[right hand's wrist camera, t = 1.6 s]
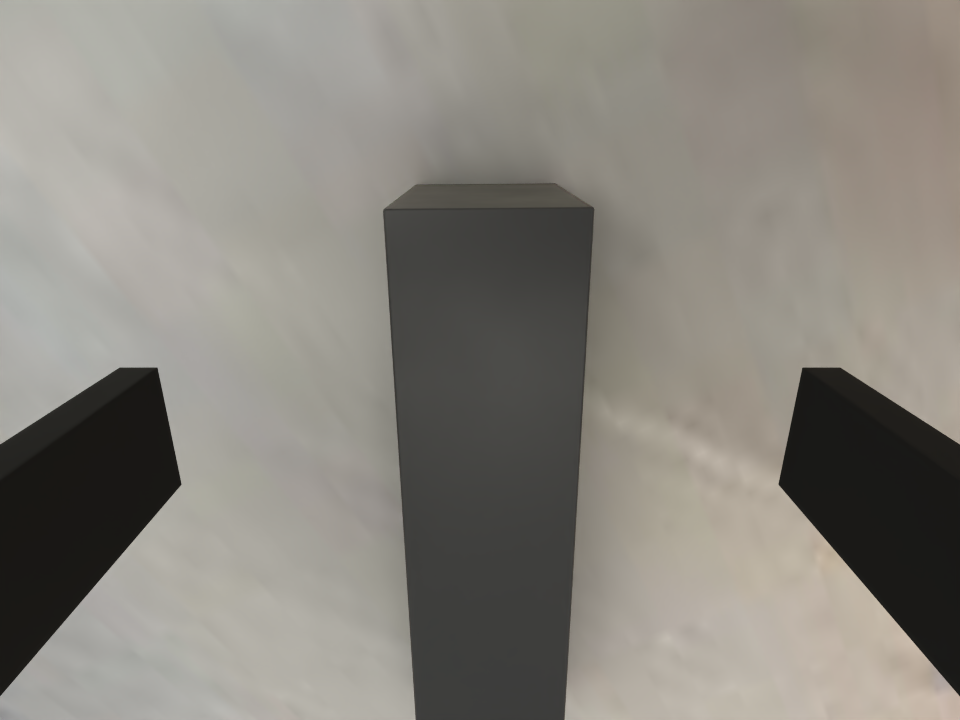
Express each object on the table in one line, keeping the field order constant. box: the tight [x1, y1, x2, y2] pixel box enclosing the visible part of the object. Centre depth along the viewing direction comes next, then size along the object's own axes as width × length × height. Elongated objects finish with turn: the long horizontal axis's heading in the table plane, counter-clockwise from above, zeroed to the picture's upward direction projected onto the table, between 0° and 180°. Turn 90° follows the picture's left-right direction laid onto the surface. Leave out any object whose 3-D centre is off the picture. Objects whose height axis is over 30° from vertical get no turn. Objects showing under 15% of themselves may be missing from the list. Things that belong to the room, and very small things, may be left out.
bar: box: [383, 184, 594, 720], centre depth 24 cm, size 27×6×8 cm, turn 0°
